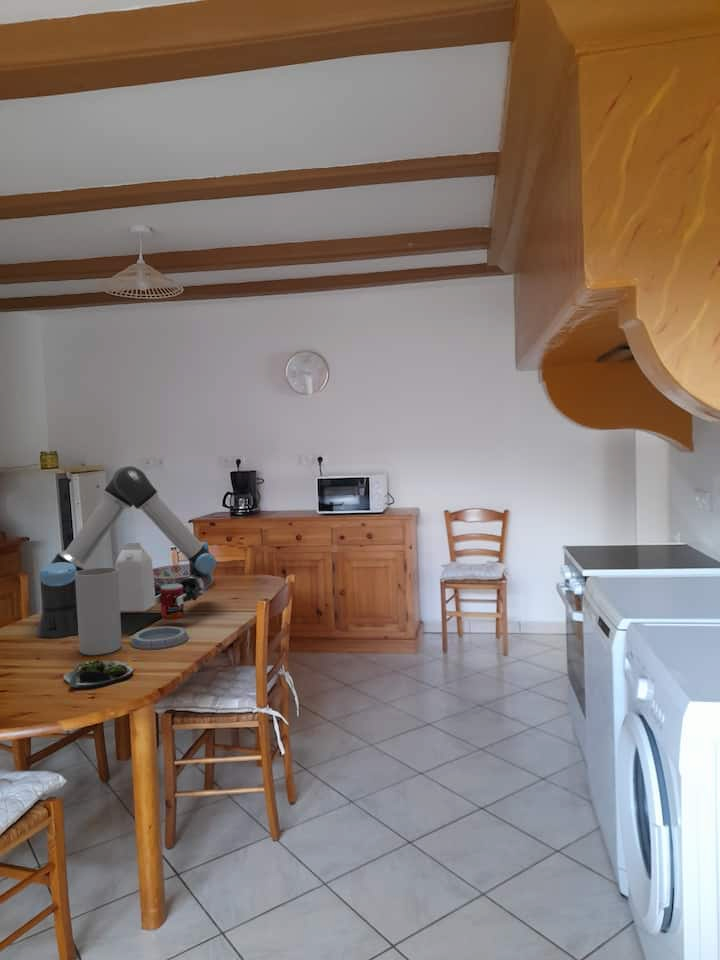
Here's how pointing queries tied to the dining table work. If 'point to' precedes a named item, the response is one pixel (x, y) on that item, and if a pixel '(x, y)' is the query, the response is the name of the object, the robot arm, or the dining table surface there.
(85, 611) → the cylinder vase
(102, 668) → the salad plate
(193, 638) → the dining table surface
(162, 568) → the ceramic bowl
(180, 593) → the canned food
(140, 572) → the milk
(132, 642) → the round tray
